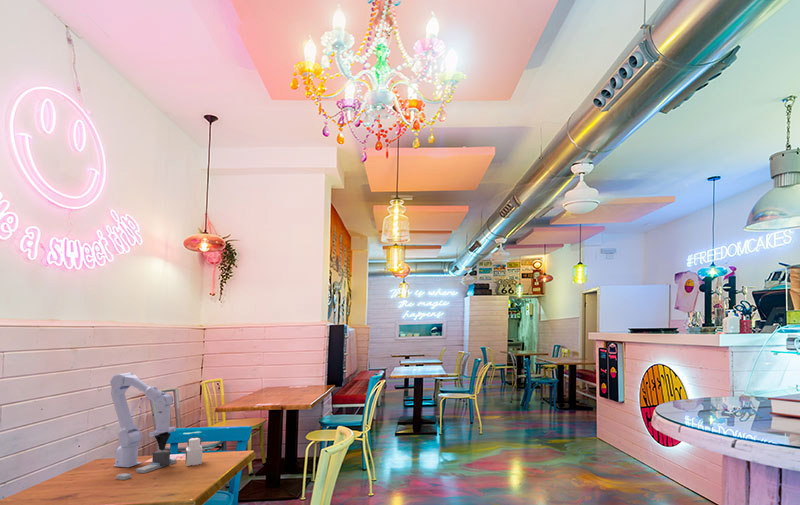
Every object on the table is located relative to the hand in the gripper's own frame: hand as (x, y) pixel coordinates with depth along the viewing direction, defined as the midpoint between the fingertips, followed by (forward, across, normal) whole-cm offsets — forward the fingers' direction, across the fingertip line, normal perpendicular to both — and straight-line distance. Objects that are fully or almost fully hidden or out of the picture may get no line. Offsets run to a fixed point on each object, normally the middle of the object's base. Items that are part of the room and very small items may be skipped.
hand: (161, 449), depth 239 cm
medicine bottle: (+8, +7, -13) cm, 17 cm away
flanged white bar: (+7, -8, 0) cm, 11 cm away
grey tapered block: (+7, 0, 0) cm, 7 cm away
